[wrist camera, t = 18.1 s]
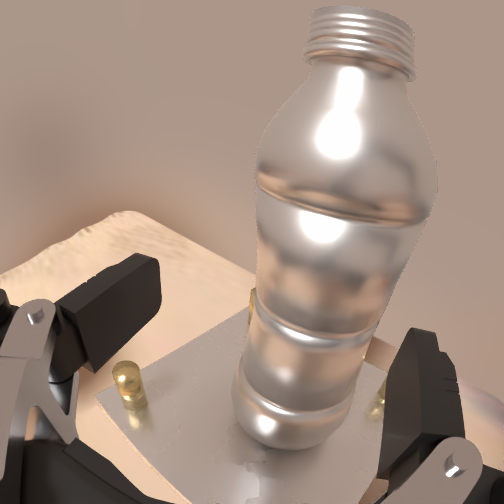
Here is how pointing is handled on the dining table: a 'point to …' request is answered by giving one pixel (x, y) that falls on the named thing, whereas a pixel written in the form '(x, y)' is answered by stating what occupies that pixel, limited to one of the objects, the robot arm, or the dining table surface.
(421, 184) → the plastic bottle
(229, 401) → the plate
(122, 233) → the dining table surface
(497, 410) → the dining table surface
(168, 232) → the dining table surface
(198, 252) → the dining table surface
